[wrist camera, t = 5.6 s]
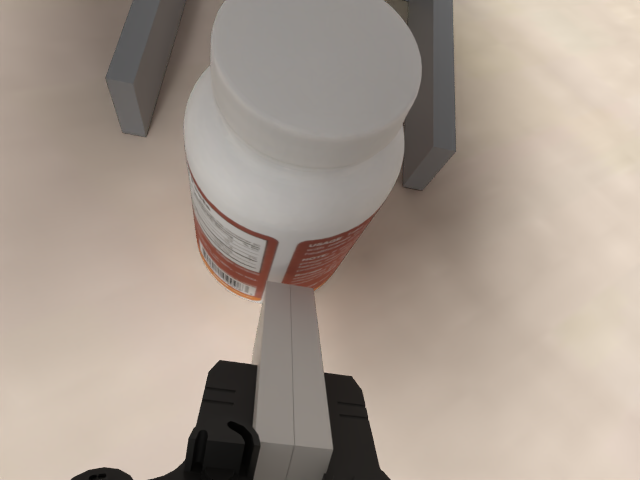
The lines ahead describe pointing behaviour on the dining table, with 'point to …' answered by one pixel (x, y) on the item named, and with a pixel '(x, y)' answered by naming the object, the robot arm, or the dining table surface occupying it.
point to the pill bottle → (296, 136)
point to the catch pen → (420, 123)
